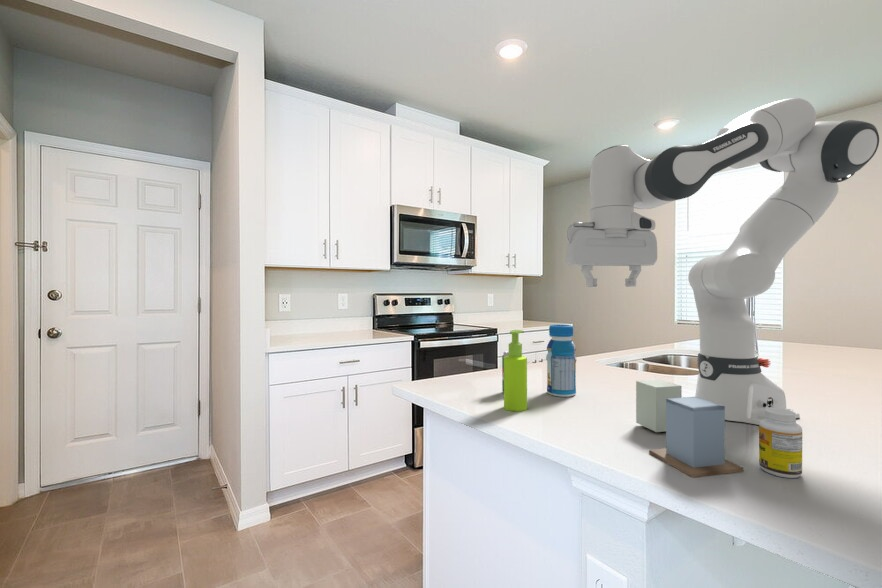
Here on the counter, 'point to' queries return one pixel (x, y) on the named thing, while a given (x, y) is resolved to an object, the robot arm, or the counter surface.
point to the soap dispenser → (515, 376)
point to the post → (697, 471)
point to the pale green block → (654, 402)
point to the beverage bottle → (561, 362)
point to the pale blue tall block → (695, 431)
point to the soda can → (503, 369)
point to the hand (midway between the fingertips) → (611, 286)
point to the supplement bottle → (780, 443)
